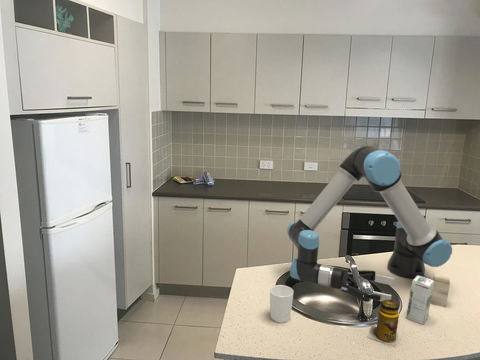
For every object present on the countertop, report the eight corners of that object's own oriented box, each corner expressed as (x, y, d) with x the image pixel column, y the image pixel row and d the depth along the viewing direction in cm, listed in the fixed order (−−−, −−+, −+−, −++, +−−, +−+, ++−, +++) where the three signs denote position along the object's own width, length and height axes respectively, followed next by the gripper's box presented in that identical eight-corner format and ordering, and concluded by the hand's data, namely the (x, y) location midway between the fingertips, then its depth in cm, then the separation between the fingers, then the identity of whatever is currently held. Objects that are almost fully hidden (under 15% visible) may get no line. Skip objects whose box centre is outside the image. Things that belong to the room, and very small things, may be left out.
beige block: (430, 297, 150) (434, 273, 148) (445, 300, 148) (449, 276, 146) (430, 304, 146) (434, 279, 143) (445, 307, 144) (449, 282, 141)
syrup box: (410, 311, 140) (416, 274, 137) (428, 317, 137) (434, 280, 133) (405, 318, 136) (411, 280, 132) (423, 325, 132) (430, 286, 129)
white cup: (285, 309, 139) (286, 283, 137) (295, 321, 132) (297, 294, 130) (264, 313, 137) (266, 286, 134) (274, 325, 130) (276, 298, 127)
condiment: (395, 346, 121) (399, 311, 118) (366, 337, 125) (370, 303, 122) (398, 334, 127) (402, 300, 124) (371, 326, 131) (375, 293, 128)
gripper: (337, 272, 158) (393, 284, 150) (323, 301, 136) (388, 317, 127) (339, 255, 156) (395, 266, 148) (325, 282, 134) (391, 297, 126)
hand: (392, 290), depth 138 cm, fingers open, 13 cm apart
